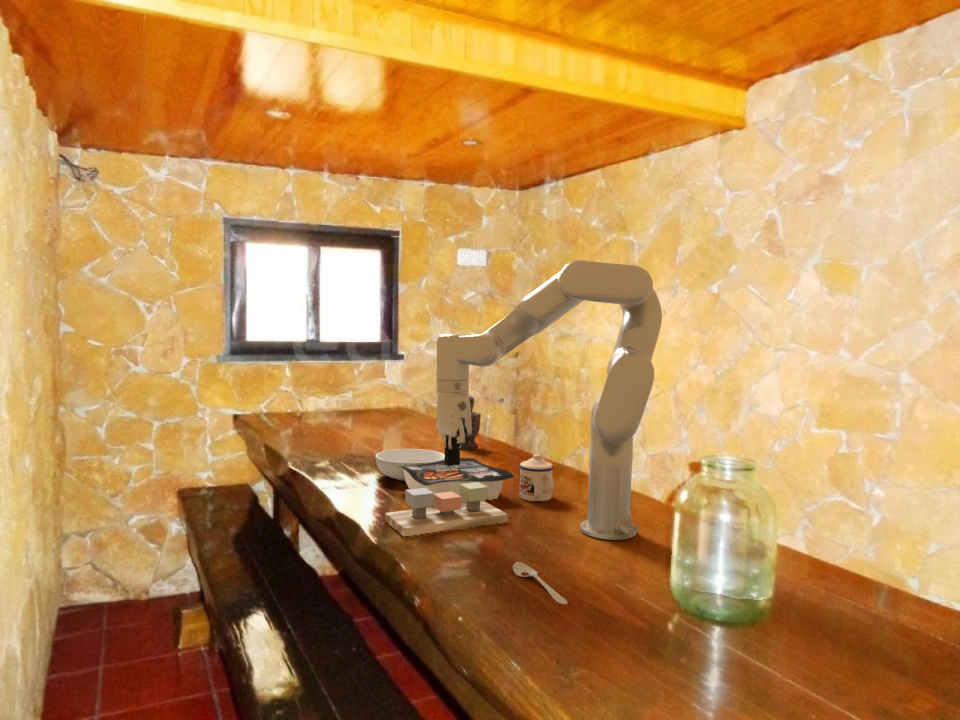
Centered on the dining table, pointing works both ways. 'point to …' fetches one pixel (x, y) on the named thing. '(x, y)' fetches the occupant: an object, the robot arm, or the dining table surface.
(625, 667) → the dining table surface
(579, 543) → the dining table surface
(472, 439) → the mortar and pestle
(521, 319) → the robot arm
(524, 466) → the teacup with lid
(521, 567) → the spoon
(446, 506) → the terracotta button
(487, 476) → the food packaging
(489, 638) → the dining table surface
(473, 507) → the sage button
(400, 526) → the button board
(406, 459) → the serving bowl
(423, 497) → the slate button
